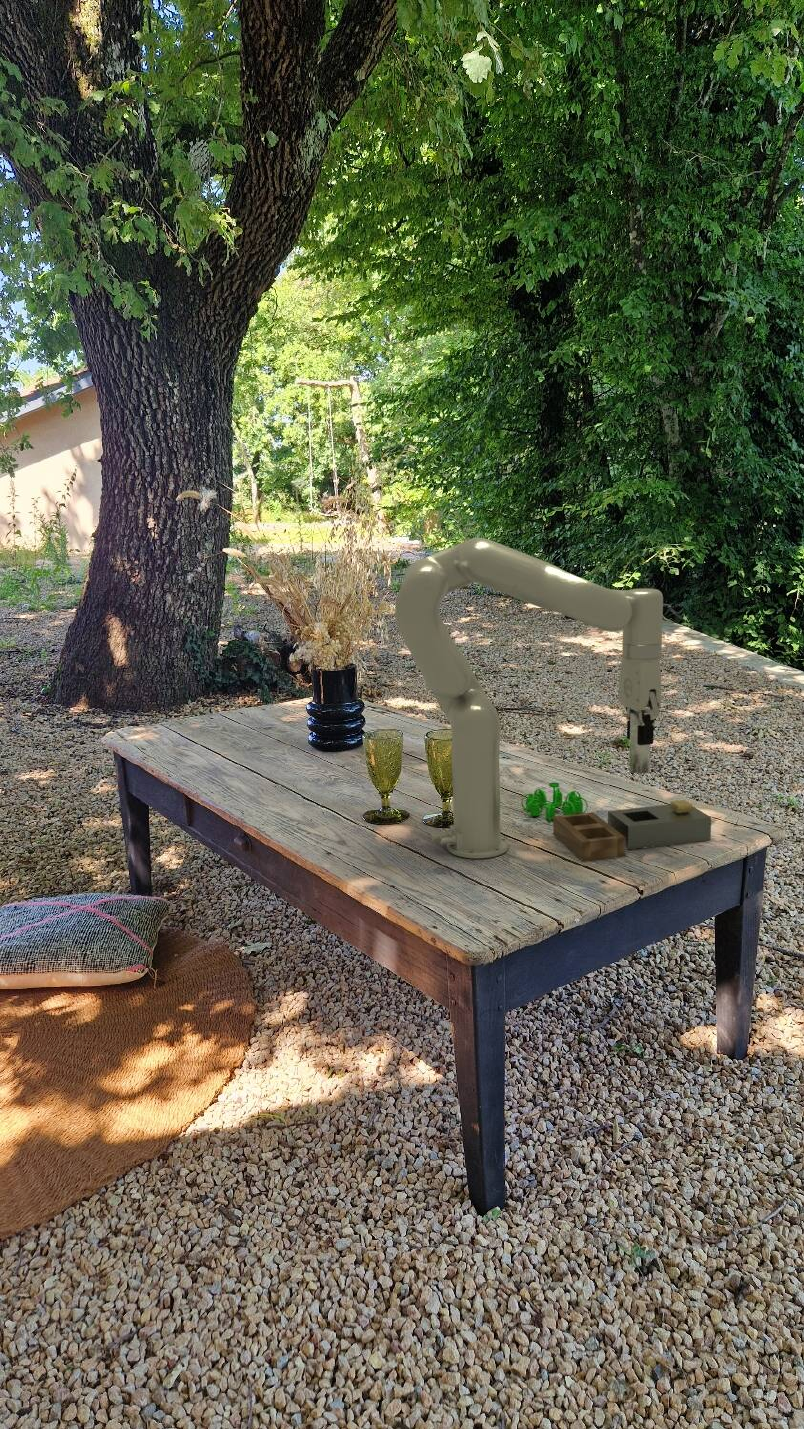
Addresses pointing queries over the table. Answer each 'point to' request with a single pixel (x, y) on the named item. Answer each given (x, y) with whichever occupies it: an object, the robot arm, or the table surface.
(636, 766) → the grey tall cylinder
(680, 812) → the release key
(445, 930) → the table surface
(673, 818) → the socket block
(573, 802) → the chandelier
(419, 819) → the table surface
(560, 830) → the frame
